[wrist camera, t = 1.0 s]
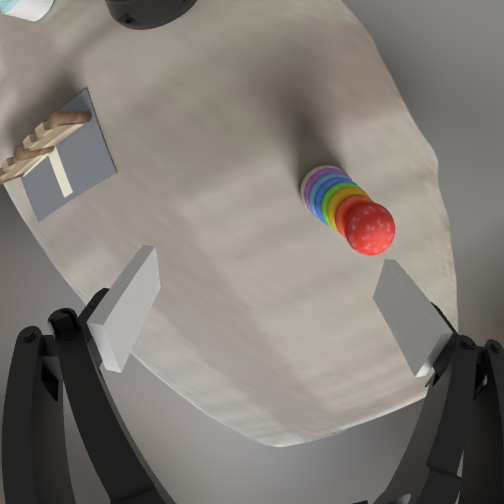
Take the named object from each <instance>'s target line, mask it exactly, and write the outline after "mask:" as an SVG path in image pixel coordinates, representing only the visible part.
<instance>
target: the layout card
mask: <svg viewBox="0 0 504 504" xmlns="http://www.w3.org/2000/svg"><path fill="white" fill-rule="evenodd" d="M58 111H89V112H91V114H92V118H91V120H90V121H89V122H84V125H82V126H81V127H79V128H78V129H77V130H75V131H74V132H73V133H71V134H70V135H69V136H67V137H66V138H65V139H64V140H62V141H61V142H60V143H58V144H57V145H56V146H55V148H54V150H53V151H52V152H50V153H46V155H45V156H44V157H42V158H41V159H40V160H39V161H38V162H37V163H36V164H35V165H33V166H32V167H31V168H30V169H29V170H28V171H27V172H26V173H25V174H24V175H23V176H21V179H22V182H23V185H24V188H25V190H26V193H27V196H28V198H29V201H30V203H31V206H32V208H33V211H34V213H35V215H36V218H37V220H38V222H40V221H41V220H43V219H44V218H45V217H47V216H48V215H50V214H51V213H52V212H54V211H55V210H57V209H58V208H60V207H61V206H63V205H64V204H66V203H67V202H69V201H70V200H72V199H73V198H75V197H76V196H78V195H80V194H81V193H83V192H84V191H86V190H88V189H89V188H91V187H93V186H94V185H96V184H98V183H99V182H101V181H103V180H104V179H106V178H108V177H110V176H112V175H113V174H115V173H117V170H116V167H115V165H114V162H113V160H112V157H111V155H110V152H109V150H108V147H107V144H106V142H105V139H104V136H103V133H102V131H101V128H100V125H99V122H98V119H97V116H96V113H95V110H94V107H93V104H92V101H91V98H90V95H89V91H88V89H85V90H84V91H82V92H81V93H80V94H78V95H77V96H76V97H74V98H73V99H72V100H70V101H69V102H68V103H67V104H65V105H64V106H63V107H62V108H60V109H59V110H58ZM45 122H49V121H48V119H47V120H46V121H45ZM32 134H36V132H35V131H34V132H33V133H32ZM21 145H23V143H22V144H21ZM13 154H14V153H13Z"/></svg>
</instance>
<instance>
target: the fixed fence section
mask: <svg viewBox="0 0 504 504" xmlns="http://www.w3.org/2000/svg"><path fill="white" fill-rule="evenodd" d="M54 148H55V146H51V147H46V148H41V149H37V150H32V151H30V150H29V148H27V149H25V148H24V145H19V146H17V147H16V148H15V151H14V157H10V158H7V159H6V160H5V161H4V162H3V163H2V168H0V184H2V183H5V182H7V181H10V180H13V179H15V178H18V177H21V176H23V175H24V174H25V173H26V172H27V171H28V170H29V169H30V168H31V167H32V166H33V165H35V164H36V163H37V162H38V161H39V160H40V159H41V158H42V157H44V156H45V155H46V153H50V152H52V151H53V150H54Z"/></svg>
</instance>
